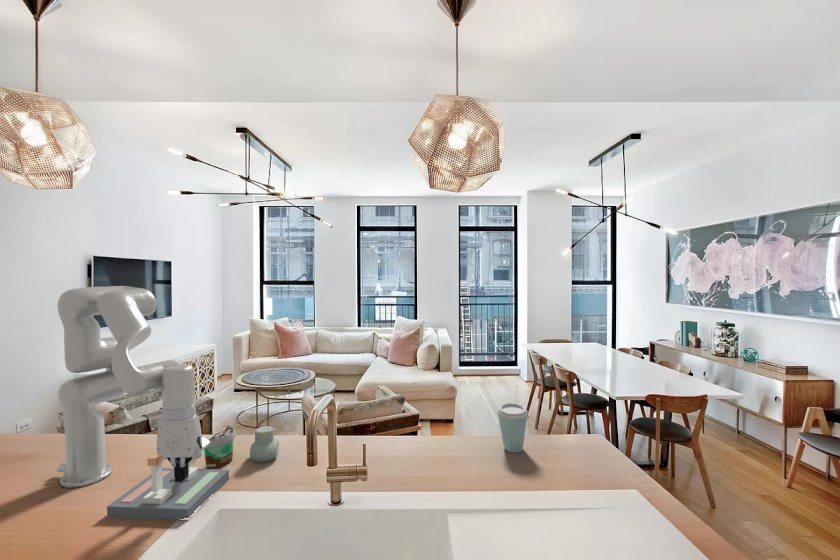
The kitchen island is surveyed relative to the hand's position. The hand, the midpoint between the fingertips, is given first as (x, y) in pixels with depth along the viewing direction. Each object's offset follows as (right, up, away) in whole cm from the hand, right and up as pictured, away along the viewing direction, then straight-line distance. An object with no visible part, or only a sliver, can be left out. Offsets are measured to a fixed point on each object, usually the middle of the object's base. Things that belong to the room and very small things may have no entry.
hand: (181, 479), depth 110 cm
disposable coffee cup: (+97, -7, +36) cm, 103 cm away
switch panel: (-6, -8, +7) cm, 12 cm away
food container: (-1, -8, +26) cm, 28 cm away
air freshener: (+11, -8, +30) cm, 33 cm away
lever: (-6, -4, +13) cm, 14 cm away
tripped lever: (-7, -4, +1) cm, 8 cm away
